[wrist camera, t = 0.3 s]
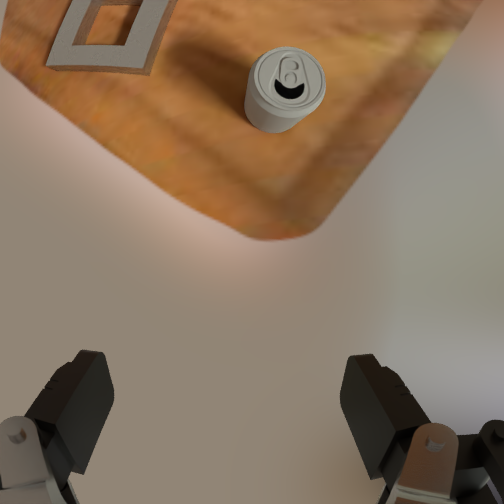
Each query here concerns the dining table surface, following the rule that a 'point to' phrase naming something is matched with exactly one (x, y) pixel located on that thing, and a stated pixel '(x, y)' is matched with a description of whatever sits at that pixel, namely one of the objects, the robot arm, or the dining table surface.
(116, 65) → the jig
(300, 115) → the beverage can
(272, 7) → the dining table surface
